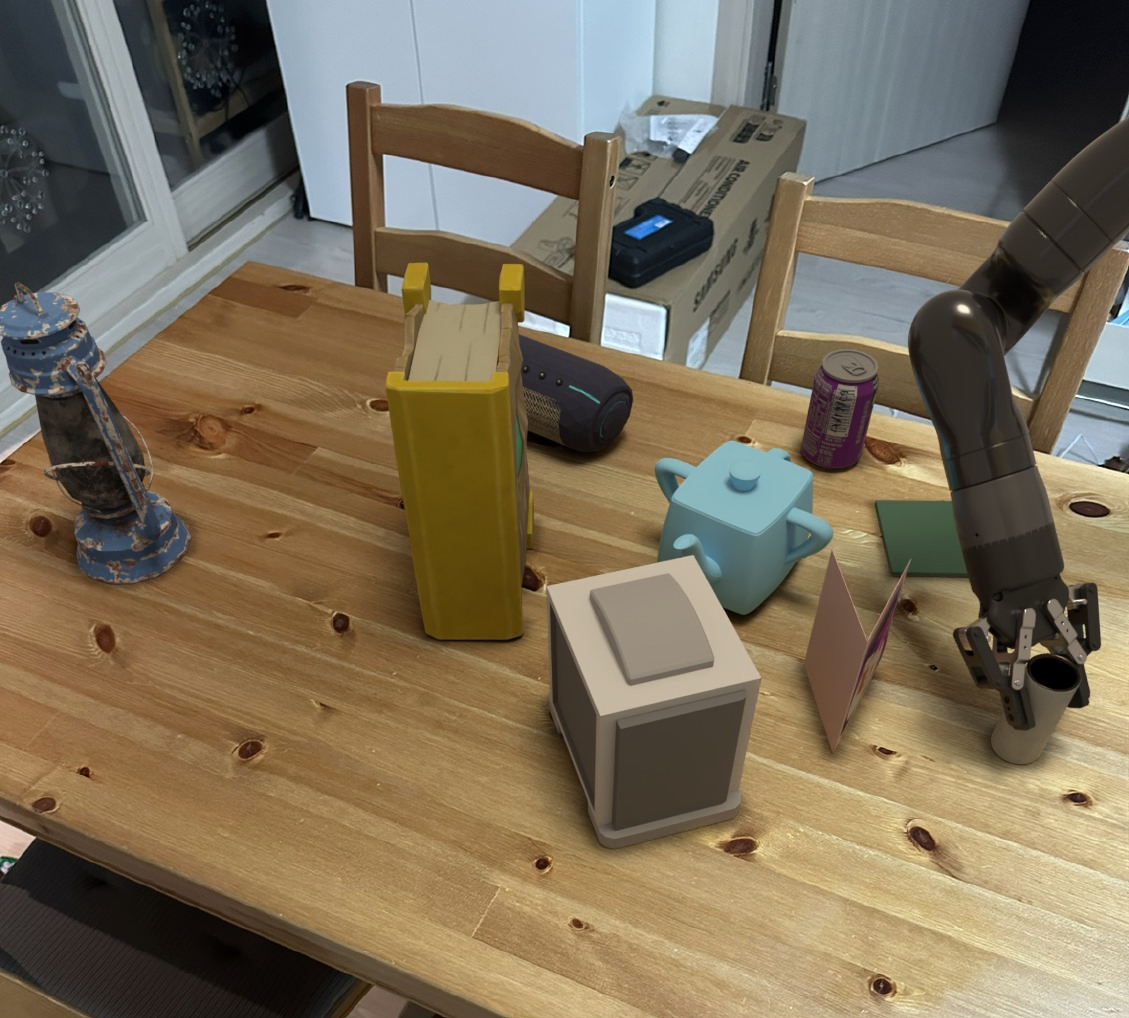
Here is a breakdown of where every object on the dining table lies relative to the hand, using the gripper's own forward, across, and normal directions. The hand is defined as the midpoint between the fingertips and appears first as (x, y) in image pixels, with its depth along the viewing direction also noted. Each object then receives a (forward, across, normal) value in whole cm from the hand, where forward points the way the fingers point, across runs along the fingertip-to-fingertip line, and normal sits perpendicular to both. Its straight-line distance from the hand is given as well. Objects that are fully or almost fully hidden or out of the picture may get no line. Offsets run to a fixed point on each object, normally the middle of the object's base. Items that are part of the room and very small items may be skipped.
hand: (1051, 716), depth 93 cm
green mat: (-15, +12, +24) cm, 31 cm away
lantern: (-42, -69, +51) cm, 96 cm away
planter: (+3, 0, +6) cm, 7 cm away
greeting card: (-5, -13, +14) cm, 20 cm away
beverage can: (-28, +9, +37) cm, 48 cm away
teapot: (-19, -13, +28) cm, 36 cm away
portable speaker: (-44, -20, +53) cm, 71 cm away
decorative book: (-27, -36, +36) cm, 58 cm away
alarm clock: (-7, -32, +16) cm, 36 cm away
